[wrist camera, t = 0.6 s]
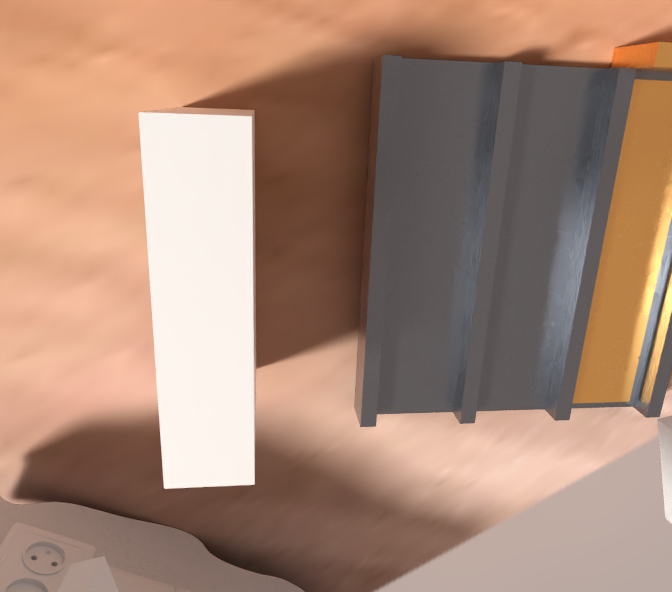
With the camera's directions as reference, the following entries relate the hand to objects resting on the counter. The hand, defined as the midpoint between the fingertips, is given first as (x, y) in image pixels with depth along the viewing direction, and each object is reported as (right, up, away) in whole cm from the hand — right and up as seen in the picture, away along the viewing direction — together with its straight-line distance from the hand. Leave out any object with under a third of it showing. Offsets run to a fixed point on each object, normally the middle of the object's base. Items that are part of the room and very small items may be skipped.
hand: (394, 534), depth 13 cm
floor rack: (+11, +8, +24) cm, 27 cm away
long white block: (-8, +8, +21) cm, 24 cm away
